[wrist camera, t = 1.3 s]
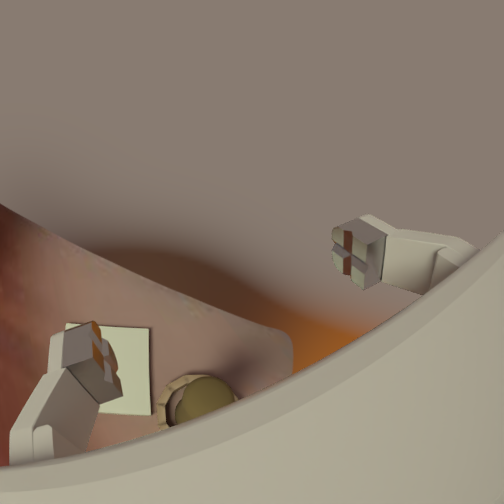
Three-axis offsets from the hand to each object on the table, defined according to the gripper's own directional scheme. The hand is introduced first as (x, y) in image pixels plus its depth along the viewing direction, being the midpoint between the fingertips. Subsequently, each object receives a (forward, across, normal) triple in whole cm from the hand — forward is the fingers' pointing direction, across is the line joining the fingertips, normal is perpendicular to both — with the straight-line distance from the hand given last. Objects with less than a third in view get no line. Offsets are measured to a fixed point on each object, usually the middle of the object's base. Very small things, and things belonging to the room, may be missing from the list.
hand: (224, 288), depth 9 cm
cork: (+14, +5, +29) cm, 32 cm away
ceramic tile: (+21, +14, +22) cm, 34 cm away
